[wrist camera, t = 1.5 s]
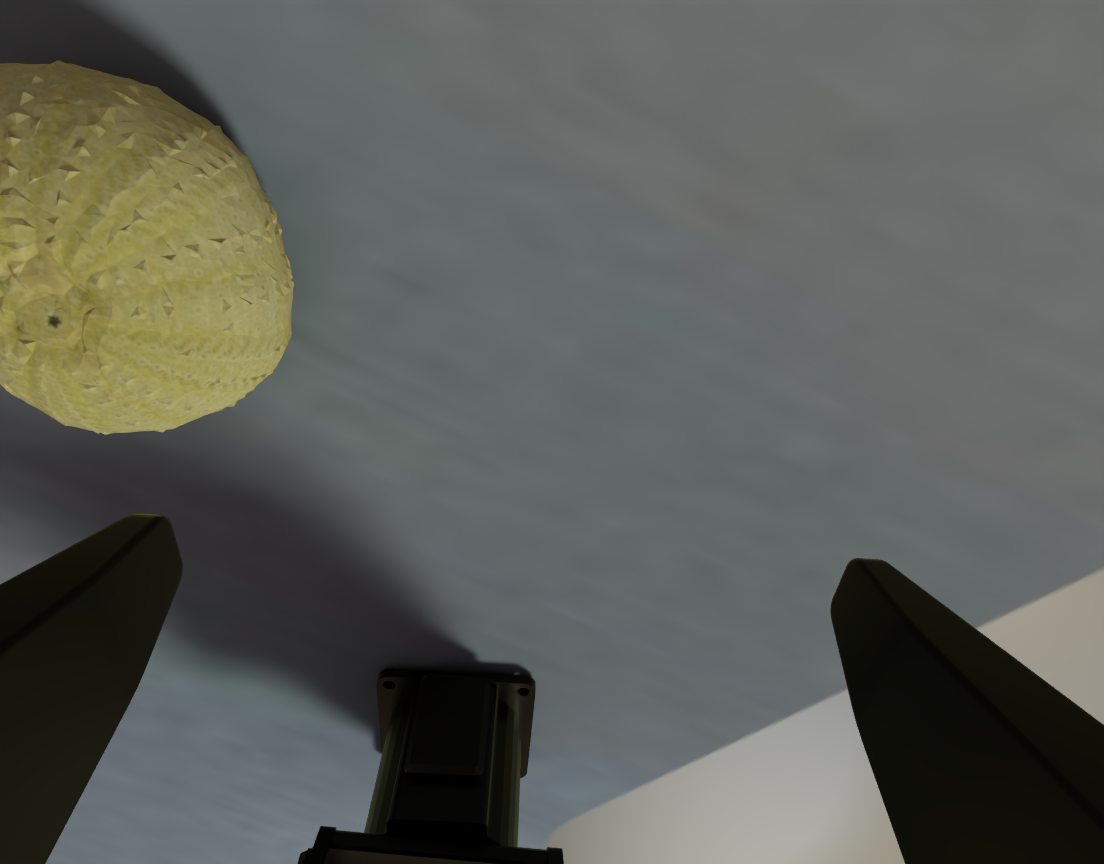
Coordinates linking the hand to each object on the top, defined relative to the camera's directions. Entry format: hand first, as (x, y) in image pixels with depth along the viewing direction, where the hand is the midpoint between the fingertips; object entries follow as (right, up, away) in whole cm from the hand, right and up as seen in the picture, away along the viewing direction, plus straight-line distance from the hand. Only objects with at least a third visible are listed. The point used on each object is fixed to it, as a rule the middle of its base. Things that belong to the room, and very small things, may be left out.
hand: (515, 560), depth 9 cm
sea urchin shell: (-11, +7, +10) cm, 17 cm away
